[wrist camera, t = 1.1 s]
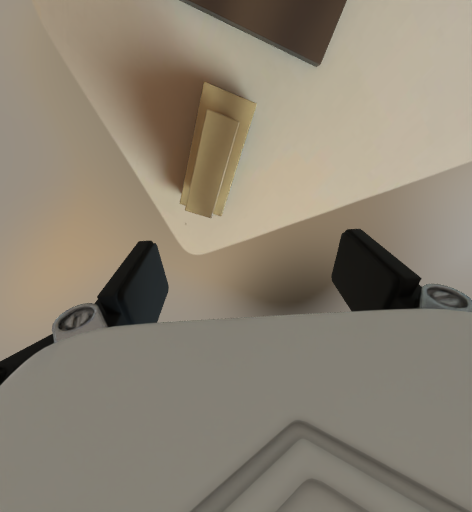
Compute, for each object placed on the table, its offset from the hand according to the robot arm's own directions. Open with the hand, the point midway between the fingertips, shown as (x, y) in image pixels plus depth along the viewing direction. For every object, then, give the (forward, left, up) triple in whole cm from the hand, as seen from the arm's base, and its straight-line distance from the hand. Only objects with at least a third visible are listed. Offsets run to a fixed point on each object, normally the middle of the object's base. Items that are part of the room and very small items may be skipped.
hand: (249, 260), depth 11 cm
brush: (-3, +2, -19) cm, 19 cm away
